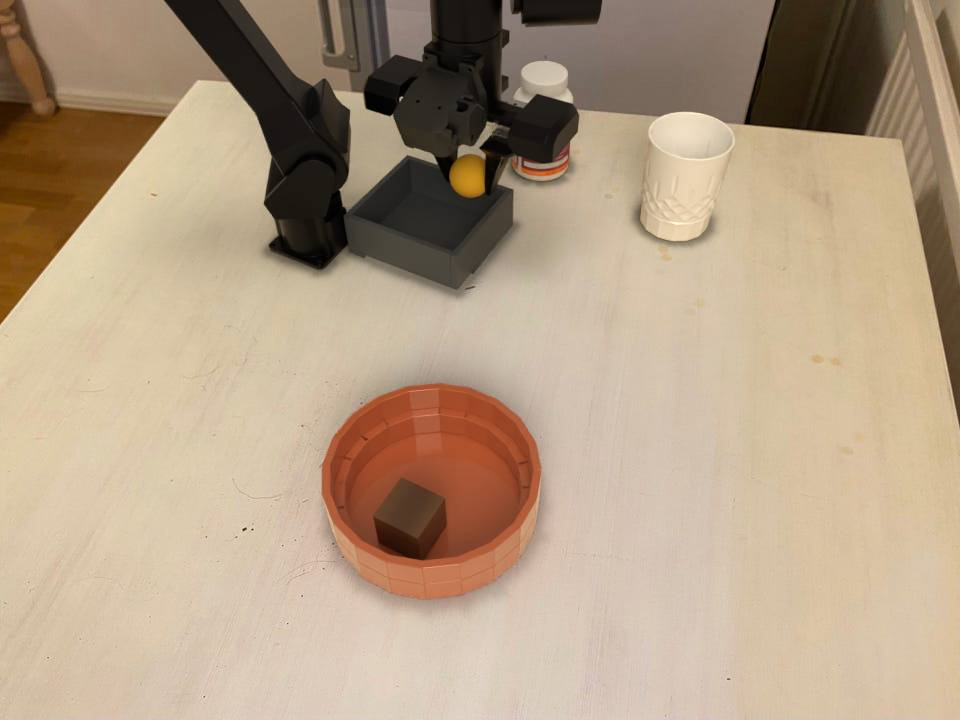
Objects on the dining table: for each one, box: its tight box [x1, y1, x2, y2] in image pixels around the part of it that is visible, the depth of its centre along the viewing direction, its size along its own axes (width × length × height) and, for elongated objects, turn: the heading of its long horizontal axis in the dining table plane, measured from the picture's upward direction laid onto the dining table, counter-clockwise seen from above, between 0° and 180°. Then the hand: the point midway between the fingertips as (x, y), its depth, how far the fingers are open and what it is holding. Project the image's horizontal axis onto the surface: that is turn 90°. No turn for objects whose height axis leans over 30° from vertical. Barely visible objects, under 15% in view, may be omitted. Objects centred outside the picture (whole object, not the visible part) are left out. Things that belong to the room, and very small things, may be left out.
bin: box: [343, 154, 514, 291], centre depth 79 cm, size 12×11×4 cm
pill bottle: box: [511, 60, 574, 182], centre depth 84 cm, size 6×6×11 cm
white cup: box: [639, 111, 736, 242], centre depth 78 cm, size 8×8×10 cm
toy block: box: [373, 477, 447, 560], centre depth 57 cm, size 4×4×4 cm
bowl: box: [321, 382, 543, 601], centre depth 58 cm, size 15×15×5 cm
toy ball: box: [449, 153, 485, 198], centre depth 76 cm, size 4×4×4 cm
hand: (470, 186), depth 77 cm, fingers closed on toy ball, 4 cm apart
